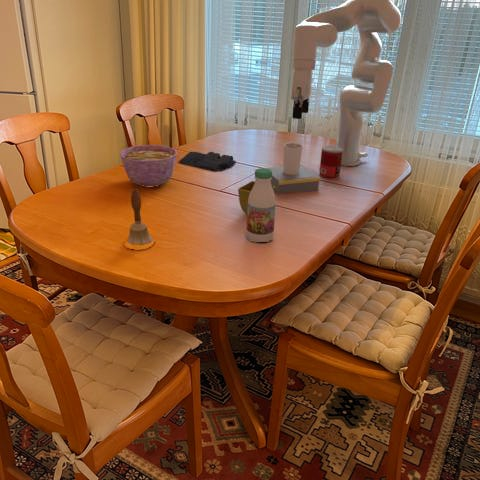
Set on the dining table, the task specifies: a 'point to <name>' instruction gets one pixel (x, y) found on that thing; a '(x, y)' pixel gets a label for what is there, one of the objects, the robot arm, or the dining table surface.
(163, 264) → the dining table surface
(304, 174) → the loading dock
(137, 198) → the hand bell
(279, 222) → the dining table surface
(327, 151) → the canned food
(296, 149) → the white cup
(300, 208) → the dining table surface
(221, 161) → the dark slate chunk
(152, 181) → the bowl of food
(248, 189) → the flower pot
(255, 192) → the milk bottle
